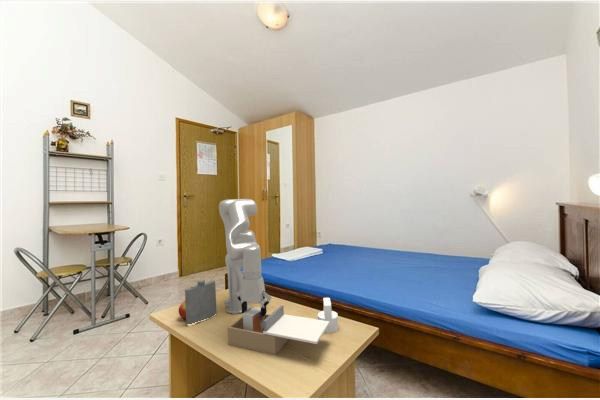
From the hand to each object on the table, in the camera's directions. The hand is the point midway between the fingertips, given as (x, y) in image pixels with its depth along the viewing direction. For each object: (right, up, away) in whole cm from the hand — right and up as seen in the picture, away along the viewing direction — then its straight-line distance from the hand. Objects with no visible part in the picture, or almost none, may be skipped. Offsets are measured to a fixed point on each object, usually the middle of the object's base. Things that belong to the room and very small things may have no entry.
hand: (253, 313), depth 114 cm
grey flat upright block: (-29, -11, +19) cm, 36 cm away
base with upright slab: (+33, -9, +5) cm, 34 cm away
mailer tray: (+4, -10, -2) cm, 11 cm away
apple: (-38, -12, +21) cm, 45 cm away
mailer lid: (+19, -2, -9) cm, 21 cm away
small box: (0, -10, 0) cm, 10 cm away
